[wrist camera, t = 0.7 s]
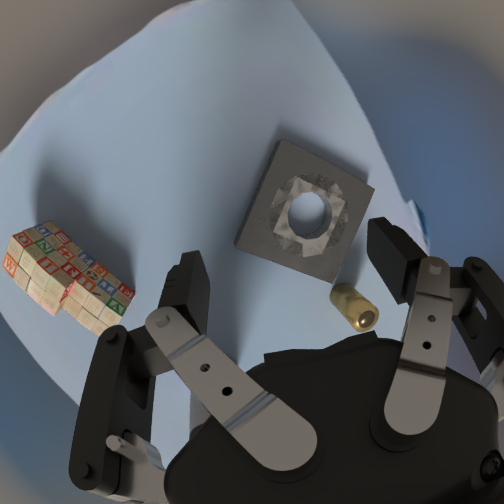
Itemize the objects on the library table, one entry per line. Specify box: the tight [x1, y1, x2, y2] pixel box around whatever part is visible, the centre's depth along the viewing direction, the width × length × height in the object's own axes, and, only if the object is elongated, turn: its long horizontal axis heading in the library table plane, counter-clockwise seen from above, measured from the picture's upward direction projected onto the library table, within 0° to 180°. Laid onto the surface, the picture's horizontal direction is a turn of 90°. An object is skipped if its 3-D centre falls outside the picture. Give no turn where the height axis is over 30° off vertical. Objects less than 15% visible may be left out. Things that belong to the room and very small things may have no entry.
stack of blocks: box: [2, 221, 135, 337], centre depth 37 cm, size 21×6×12 cm, turn 49°
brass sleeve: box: [330, 282, 379, 332], centre depth 46 cm, size 5×5×10 cm
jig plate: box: [234, 139, 375, 284], centre depth 44 cm, size 18×18×3 cm
